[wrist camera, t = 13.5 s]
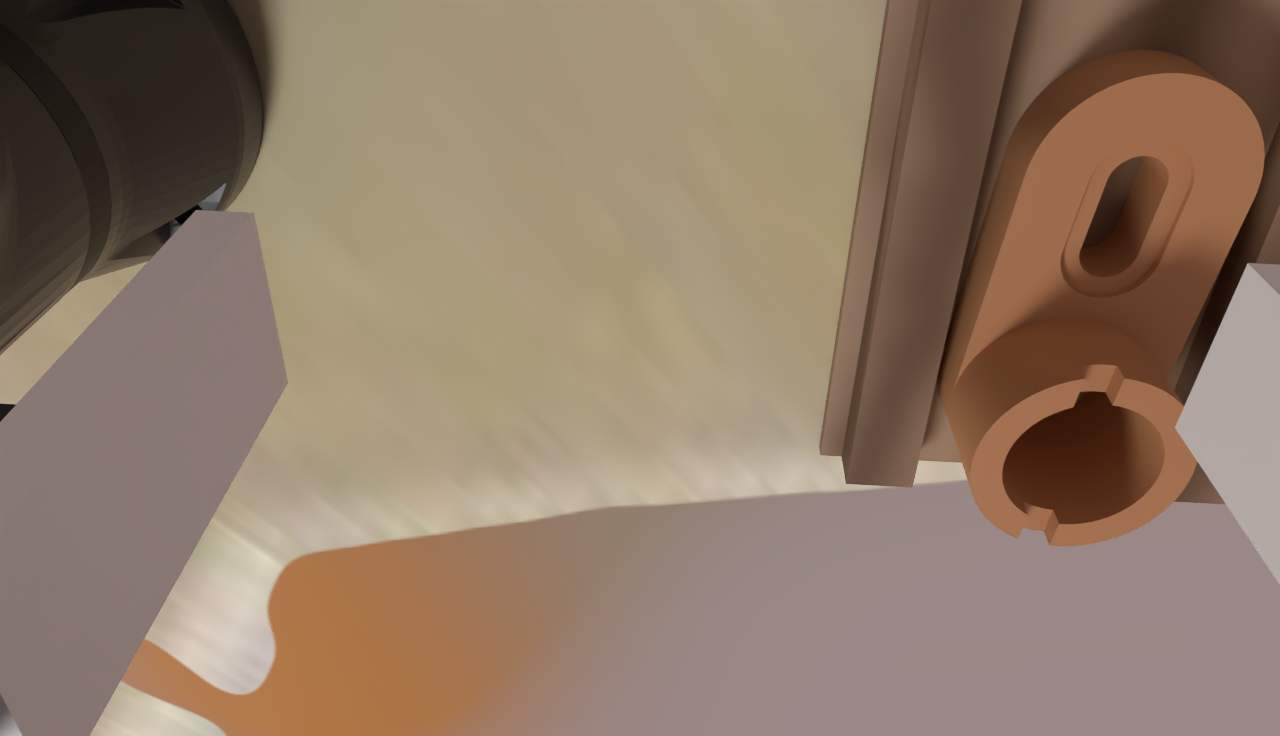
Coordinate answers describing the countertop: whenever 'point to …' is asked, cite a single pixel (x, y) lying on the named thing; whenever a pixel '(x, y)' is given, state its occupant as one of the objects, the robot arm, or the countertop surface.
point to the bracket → (1095, 295)
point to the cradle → (964, 180)
